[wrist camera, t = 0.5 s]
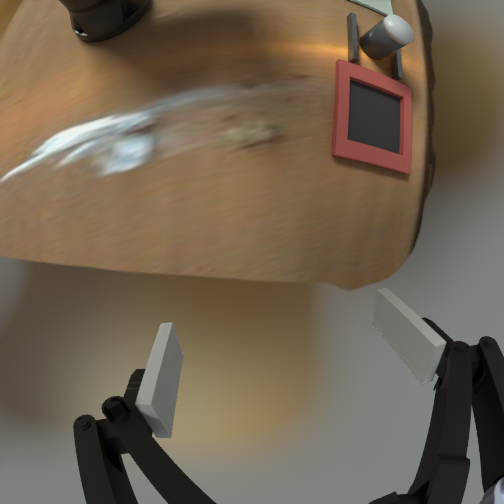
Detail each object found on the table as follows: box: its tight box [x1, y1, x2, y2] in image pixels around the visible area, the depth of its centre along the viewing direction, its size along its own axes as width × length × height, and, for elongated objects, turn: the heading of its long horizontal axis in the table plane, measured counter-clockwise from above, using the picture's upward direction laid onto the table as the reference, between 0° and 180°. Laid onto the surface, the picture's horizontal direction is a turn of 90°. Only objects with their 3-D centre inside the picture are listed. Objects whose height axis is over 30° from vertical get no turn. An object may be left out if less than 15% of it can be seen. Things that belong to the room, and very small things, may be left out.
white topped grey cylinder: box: [359, 14, 414, 60], centre depth 32 cm, size 6×6×10 cm
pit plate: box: [331, 59, 412, 174], centre depth 39 cm, size 18×16×2 cm
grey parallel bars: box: [347, 13, 403, 81], centre depth 35 cm, size 12×11×2 cm
